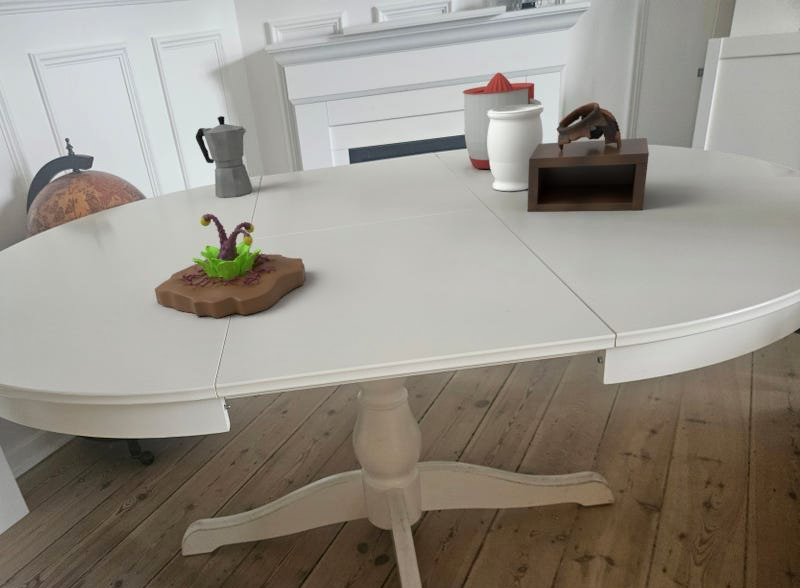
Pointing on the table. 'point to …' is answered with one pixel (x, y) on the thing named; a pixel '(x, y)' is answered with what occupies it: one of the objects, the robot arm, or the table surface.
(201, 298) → the plant
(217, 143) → the coffeepot
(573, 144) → the stand
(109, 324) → the table surface
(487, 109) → the citrus juicer
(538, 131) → the jar
